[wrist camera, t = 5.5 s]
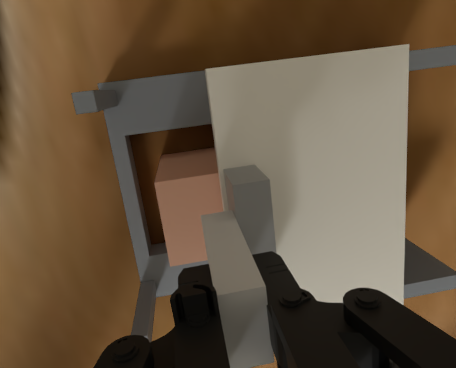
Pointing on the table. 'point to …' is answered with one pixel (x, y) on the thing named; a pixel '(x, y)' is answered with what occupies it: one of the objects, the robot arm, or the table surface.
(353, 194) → the cover
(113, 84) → the sliding door cubby
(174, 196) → the block
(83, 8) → the table surface
